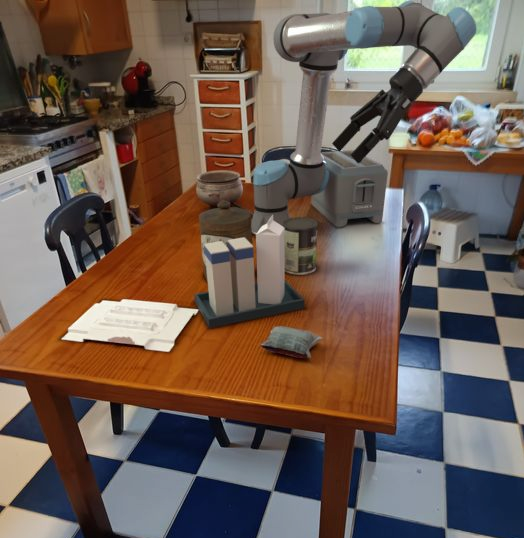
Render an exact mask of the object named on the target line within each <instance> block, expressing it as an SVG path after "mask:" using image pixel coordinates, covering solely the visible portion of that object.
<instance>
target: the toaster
mask: <svg viewBox="0 0 524 538" xmlns="http://www.w3.org/2000/svg"><path fill="white" fill-rule="evenodd" d="M354 150H355V149H348V150H341V151H340V152H339V151H338V150H335V151H324V152H323V151H321V155H322V156H323V157H324V161H325V162H326V164H327V166H328V169H327V171H329V179H328V183H327V185H326V187H325V189H324V190H323V191H322V192H320V193H318V194H315V195H313V196H310V197H311V203H310V204H311V206H312V207H314V209H315V210H317V211H318V212H319V213H320V214H321V215H323V216H324V218H325V219H327V220H328V221H329V222H330V223H331V224H332V225H333V226H334V227H335V228H338V229H339V228H343V227H345V226H346V225H347V224H348V220H353V219H363V218H367V219H368V220H370V221H371V222H373V223H374V224H380V223H383V217H384V210H385V209H384V208H385V202H386V201H385V200H386V193H387V192H386V191H387V183H388V175H389V174H388V173H389V172H388V170H387V169H386V168H385V166H384V165H383V164H382V163H380V162H378V161H377V160H374V159H372V158H370V157H368V156H367V155H366V156H365V157H364V159H363V160H362V161H361V162H360V163H359V164H358V163H357V162H356V161H355V160H354V159H353V158H352V156H351V155H350V154H351V153H352V152H353V151H354Z"/></svg>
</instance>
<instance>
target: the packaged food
mask: <svg viewBox="0 0 524 538" xmlns="http://www.w3.org/2000/svg"><path fill="white" fill-rule="evenodd" d="M269 333H270V334H269V336H268V337H267V340H265V341H263V342H262V343H260V344H259V345H260V347H261V348H263V349H265V350H266V351H268V352H271V353H274V354H275V353H276V354H282V355H285V356H290V357H295V358H300V359H306V358H307V359H311V357H312V356H311V352H310V350H311V348H313V347H314V346H315V345H316V344H317V343H318V342H321V341H322V340H323V338H322V337H321V336H320V335H318V334H315V333H312V331H309V330H304V329H300V328H295V327H289V326H282V325H281V326H280V325H279V326H276V325H273V328H272V330H270V332H269Z"/></svg>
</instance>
